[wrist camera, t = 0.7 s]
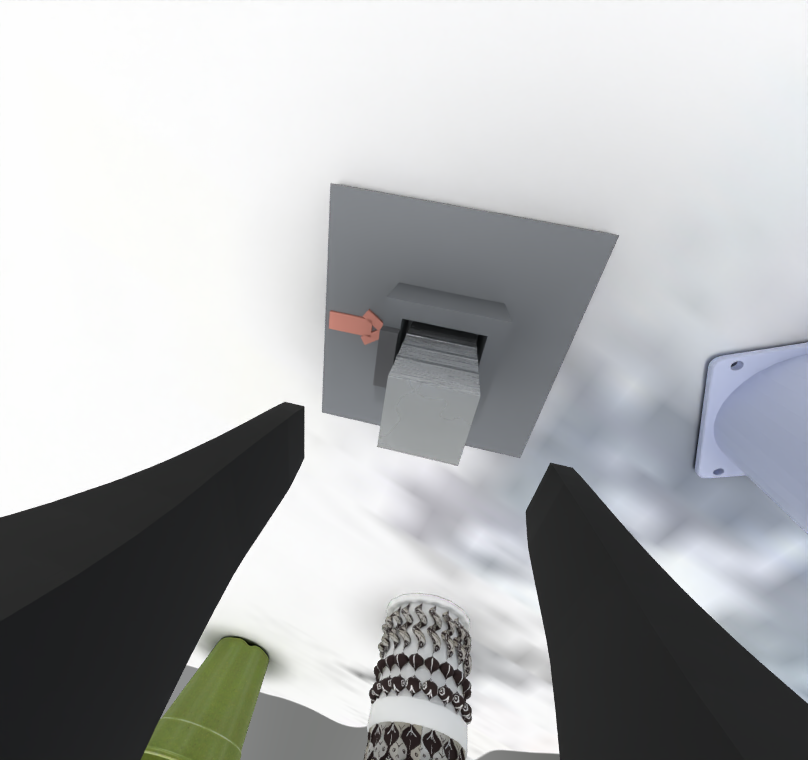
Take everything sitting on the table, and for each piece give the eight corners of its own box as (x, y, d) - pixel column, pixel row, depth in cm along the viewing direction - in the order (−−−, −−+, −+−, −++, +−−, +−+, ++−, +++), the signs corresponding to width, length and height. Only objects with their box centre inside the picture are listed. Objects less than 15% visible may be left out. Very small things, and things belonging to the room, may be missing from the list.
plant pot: (233, 617, 40) (157, 750, 30) (302, 664, 43) (255, 798, 33) (187, 635, 45) (110, 754, 35) (252, 676, 48) (198, 796, 38)
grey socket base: (610, 233, 15) (663, 244, 11) (517, 447, 21) (529, 503, 17) (337, 184, 16) (295, 177, 12) (327, 404, 22) (297, 447, 18)
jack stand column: (475, 323, 17) (481, 396, 10) (460, 374, 18) (458, 466, 12) (416, 310, 17) (387, 375, 10) (407, 363, 18) (376, 447, 12)
